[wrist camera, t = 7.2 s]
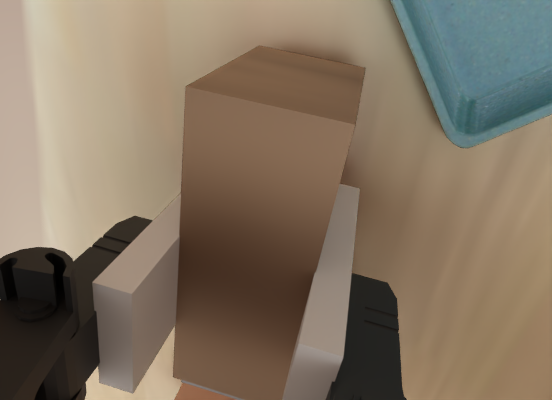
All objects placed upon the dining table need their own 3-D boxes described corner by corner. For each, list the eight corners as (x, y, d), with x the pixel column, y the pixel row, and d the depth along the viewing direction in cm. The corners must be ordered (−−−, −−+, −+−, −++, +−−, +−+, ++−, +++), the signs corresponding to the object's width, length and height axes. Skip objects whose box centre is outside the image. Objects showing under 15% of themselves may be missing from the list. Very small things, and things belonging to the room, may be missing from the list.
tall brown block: (310, 412, 18) (288, 543, 14) (185, 372, 19) (128, 487, 15) (421, 79, 11) (447, 145, 7) (208, 35, 12) (106, 68, 7)
